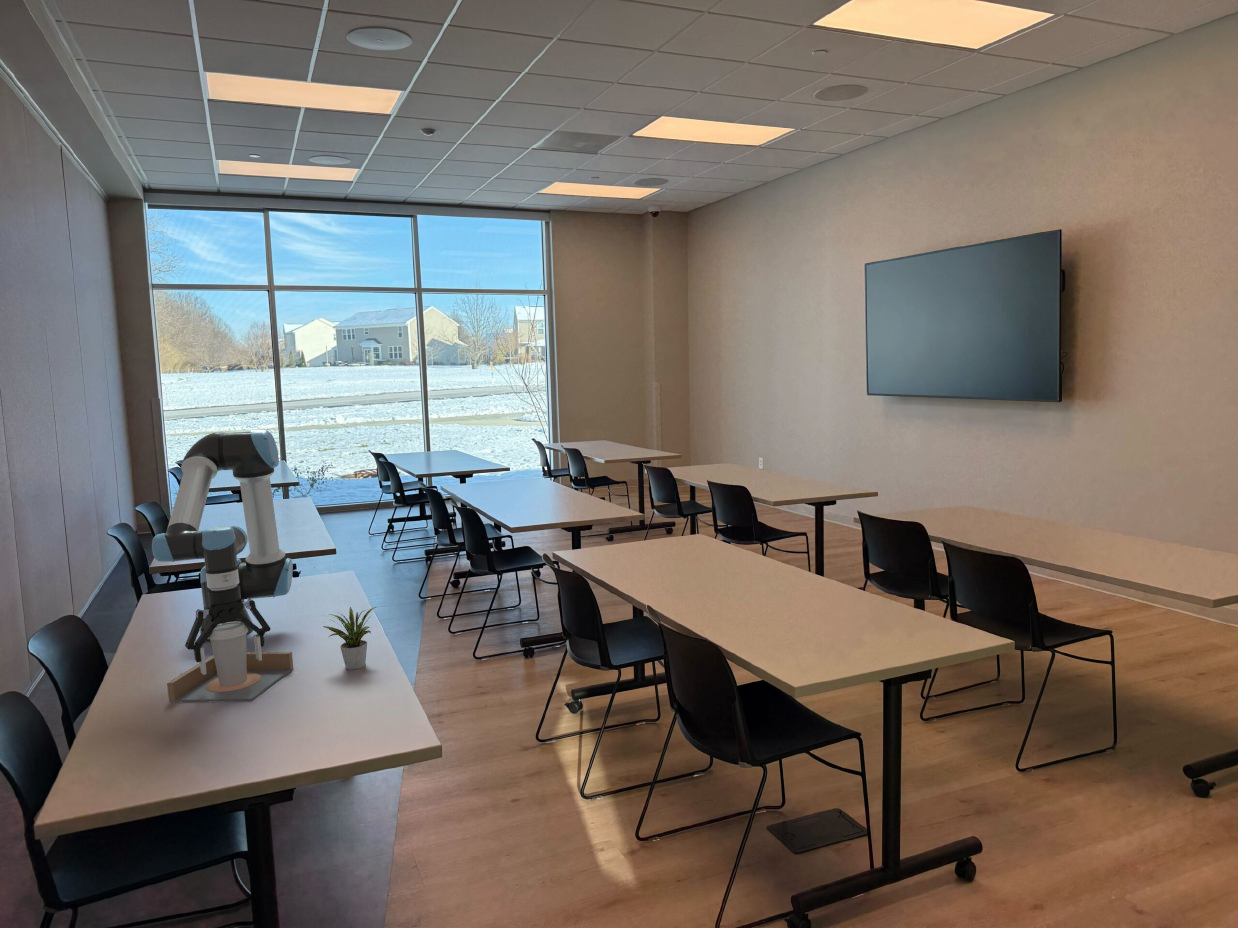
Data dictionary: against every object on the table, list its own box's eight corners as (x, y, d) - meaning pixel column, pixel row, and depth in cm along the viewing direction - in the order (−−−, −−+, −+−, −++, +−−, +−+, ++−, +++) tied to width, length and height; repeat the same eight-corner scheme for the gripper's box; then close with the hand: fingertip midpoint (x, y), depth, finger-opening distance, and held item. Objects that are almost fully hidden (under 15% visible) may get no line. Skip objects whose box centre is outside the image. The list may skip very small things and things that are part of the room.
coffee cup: (212, 691, 207) (205, 634, 205) (213, 679, 216) (207, 624, 214) (253, 684, 211) (247, 627, 209) (253, 672, 219) (247, 618, 218)
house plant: (363, 652, 234) (359, 596, 232) (395, 660, 226) (390, 602, 224) (320, 668, 223) (315, 610, 221) (352, 677, 215) (346, 617, 213)
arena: (218, 670, 225) (216, 652, 224) (293, 668, 223) (291, 651, 222) (169, 702, 203) (166, 682, 203) (251, 700, 201) (249, 681, 201)
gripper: (173, 599, 200) (182, 683, 202) (278, 579, 215) (285, 656, 218) (166, 594, 205) (175, 675, 208) (269, 574, 221) (276, 650, 224)
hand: (231, 666), depth 213 cm, fingers open, 13 cm apart
